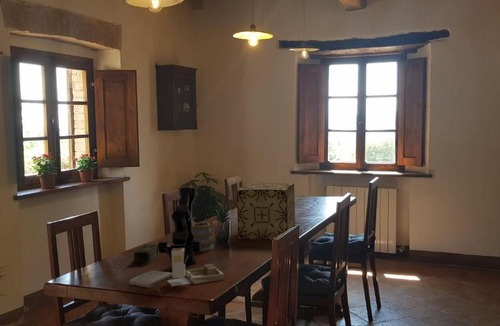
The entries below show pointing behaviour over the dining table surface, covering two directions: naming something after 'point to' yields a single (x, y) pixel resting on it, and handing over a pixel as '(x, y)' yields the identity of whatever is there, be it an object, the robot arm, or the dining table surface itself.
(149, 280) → the washcloth
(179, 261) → the cream box
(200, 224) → the tankard
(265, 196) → the decorative box
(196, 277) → the tray
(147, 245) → the beverage carton
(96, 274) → the dining table surface
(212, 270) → the walnut box
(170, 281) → the coaster
